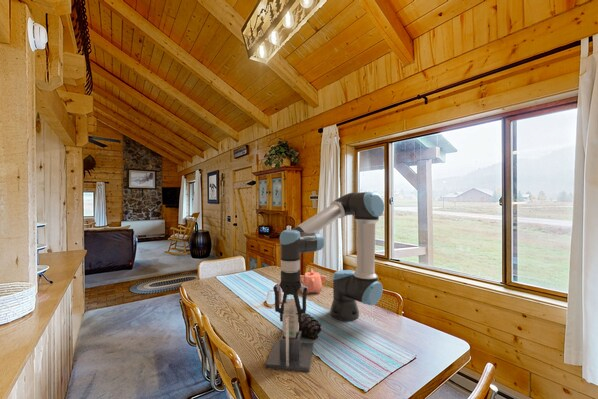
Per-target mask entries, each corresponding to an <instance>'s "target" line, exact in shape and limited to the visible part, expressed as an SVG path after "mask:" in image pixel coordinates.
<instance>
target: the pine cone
mask: <svg viewBox="0 0 598 399" xmlns="http://www.w3.org/2000/svg"><path fill="white" fill-rule="evenodd" d="M321 324H322V323H320V322H319V321H318V319H316V318H315V317H314V316H311V315H310V314H309V313H306V312H305V313H302V314H301V323H299V330H298V331H302V339H306V340H310V341H316V342H317V341H319V334H320V333H321V331H322V325H321Z"/></svg>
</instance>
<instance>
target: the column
mask: <svg viewBox="0 0 598 399" xmlns="http://www.w3.org/2000/svg"><path fill="white" fill-rule="evenodd" d="M296 313H297V308H296V303H295V300H294V298H287V299H286V301H285V302H284V339H286V316H289V318H290V321H289V339H297V332H296Z"/></svg>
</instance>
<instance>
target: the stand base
mask: <svg viewBox="0 0 598 399" xmlns="http://www.w3.org/2000/svg"><path fill="white" fill-rule="evenodd" d="M289 321H290V318H289V316H286V339H284V331H283V330H282V332H281V335H280V338H279V340H275V341H274V343H273V347H272V348H271V351H270V353H269V355H268V358H267V361H266V362H265V369H271V370H283V371H293V372H295V371H296V372H310V370H311V364H312V357H313V351H314V343H310V342H303V340H302V339H303V338H302V331H298V332H297V339H289Z"/></svg>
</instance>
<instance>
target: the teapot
mask: <svg viewBox="0 0 598 399" xmlns="http://www.w3.org/2000/svg"><path fill="white" fill-rule="evenodd" d="M327 277H328V276H327V275H323V274H322V275H321V274H320V272H316V271H314V269H313V268H310V272H309V271H308V272H305V273H304V275H302V274H300V282H301V285H303V286H307V287H308V289H307V291H306V295H308V294H310V293H315V294H316V295H319V294H320V293H321V291H322V288H323V284H324V283H325V282H326V280H327V279H328V278H327ZM302 278H303V280H302ZM322 278H323V279H322Z"/></svg>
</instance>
